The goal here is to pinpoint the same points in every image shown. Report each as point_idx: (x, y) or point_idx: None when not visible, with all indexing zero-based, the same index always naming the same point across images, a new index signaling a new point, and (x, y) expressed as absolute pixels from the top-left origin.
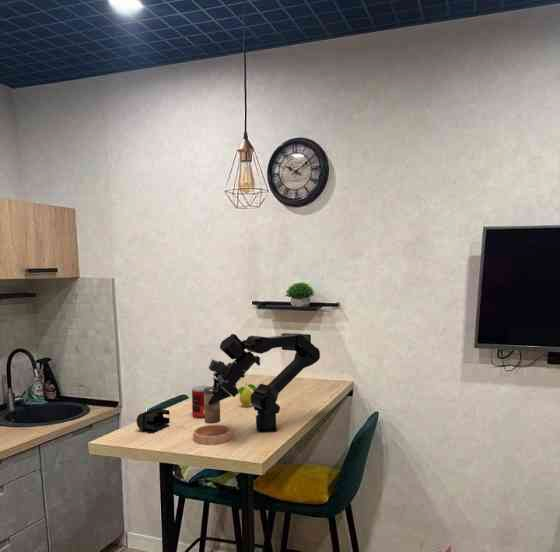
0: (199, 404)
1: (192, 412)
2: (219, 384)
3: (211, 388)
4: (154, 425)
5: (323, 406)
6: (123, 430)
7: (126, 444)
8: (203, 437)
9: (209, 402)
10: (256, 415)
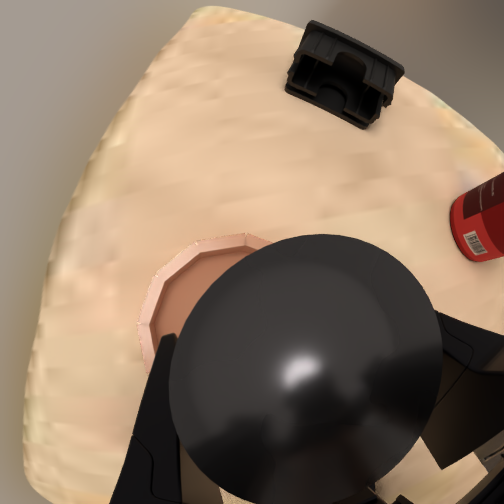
0: (484, 208)
1: (466, 192)
2: (483, 429)
3: (339, 381)
4: (333, 84)
5: None
6: (303, 33)
7: (181, 52)
8: (144, 303)
9: (159, 351)
10: (372, 499)
